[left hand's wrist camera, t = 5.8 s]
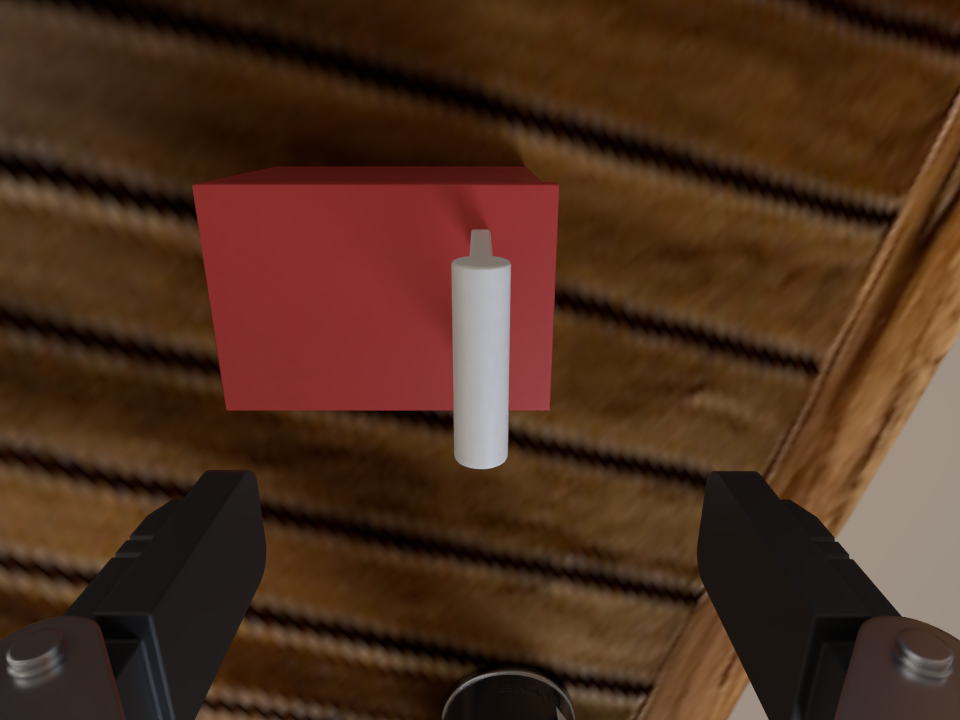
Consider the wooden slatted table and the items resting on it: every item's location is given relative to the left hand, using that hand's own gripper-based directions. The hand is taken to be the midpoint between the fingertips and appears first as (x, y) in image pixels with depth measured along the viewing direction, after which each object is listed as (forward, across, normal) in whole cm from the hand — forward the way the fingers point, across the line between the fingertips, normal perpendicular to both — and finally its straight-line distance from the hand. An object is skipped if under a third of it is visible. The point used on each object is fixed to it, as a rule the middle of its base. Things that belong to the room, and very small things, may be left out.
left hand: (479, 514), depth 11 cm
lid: (+15, +4, 0) cm, 15 cm away
